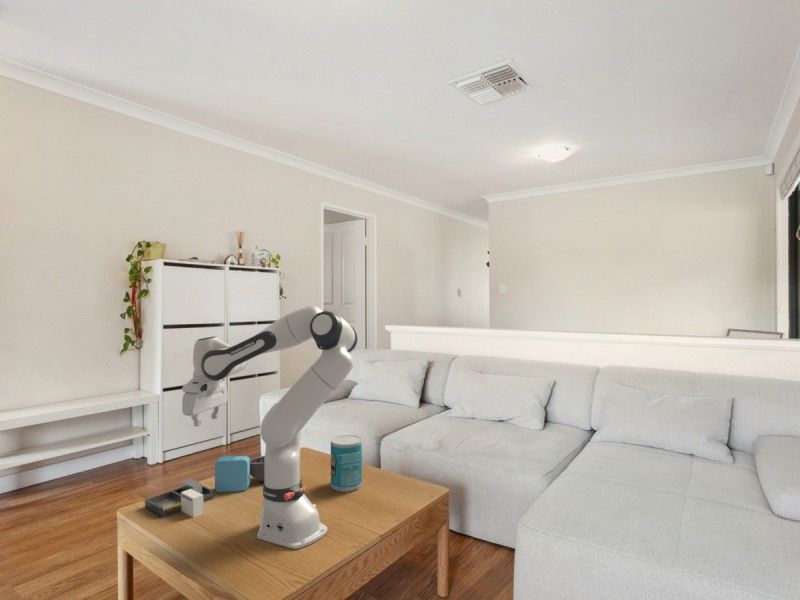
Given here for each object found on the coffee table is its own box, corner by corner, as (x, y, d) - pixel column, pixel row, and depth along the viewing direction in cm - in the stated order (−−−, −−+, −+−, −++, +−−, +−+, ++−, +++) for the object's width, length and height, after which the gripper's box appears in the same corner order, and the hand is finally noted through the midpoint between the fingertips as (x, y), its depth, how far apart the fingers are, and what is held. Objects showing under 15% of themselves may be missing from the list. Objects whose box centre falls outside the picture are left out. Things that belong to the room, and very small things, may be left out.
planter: (243, 485, 178) (242, 434, 178) (267, 469, 194) (267, 422, 194) (276, 489, 174) (276, 437, 173) (298, 473, 190) (298, 425, 189)
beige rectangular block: (203, 513, 155) (203, 494, 155) (193, 517, 152) (193, 498, 152) (191, 507, 160) (190, 488, 160) (181, 511, 157) (180, 492, 157)
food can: (325, 489, 174) (324, 442, 174) (340, 477, 185) (340, 433, 185) (352, 494, 169) (352, 446, 169) (367, 482, 180) (367, 436, 180)
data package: (250, 486, 177) (250, 455, 177) (247, 491, 173) (247, 459, 172) (218, 487, 176) (218, 456, 176) (214, 492, 171) (214, 461, 171)
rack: (213, 498, 166) (213, 482, 166) (162, 518, 152) (161, 500, 152) (195, 490, 174) (195, 474, 174) (145, 508, 159) (144, 491, 159)
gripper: (217, 377, 171) (216, 414, 171) (178, 388, 151) (178, 429, 151) (232, 378, 169) (231, 415, 169) (195, 389, 149) (195, 431, 149)
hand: (206, 422), depth 160 cm, fingers open, 8 cm apart
